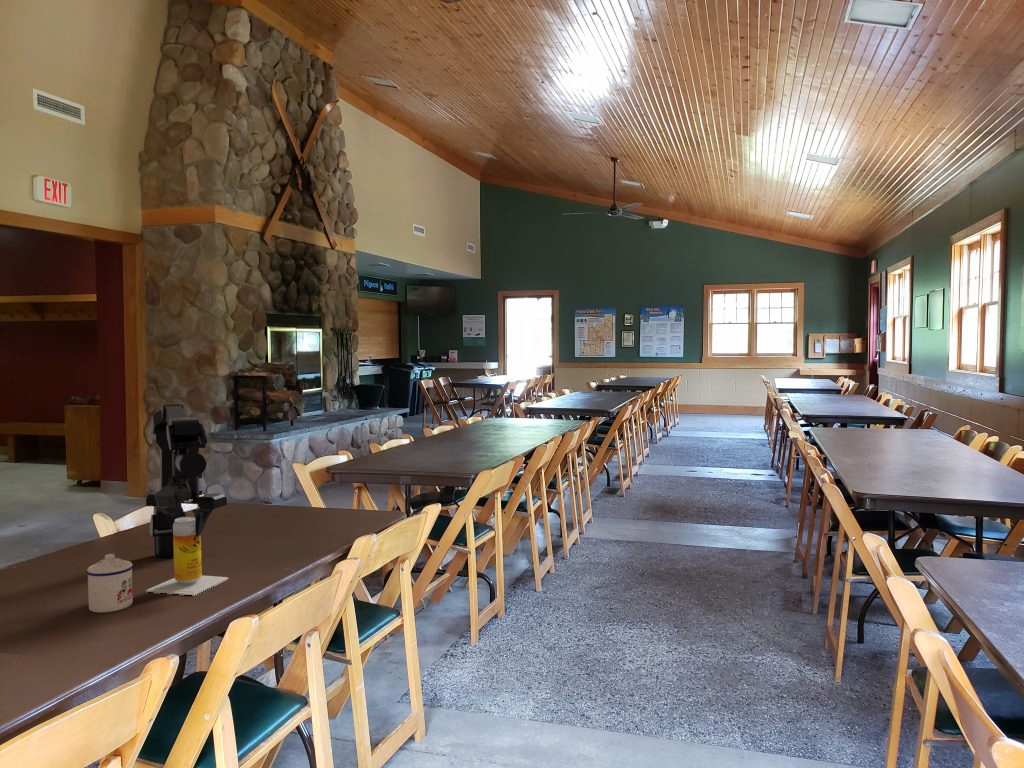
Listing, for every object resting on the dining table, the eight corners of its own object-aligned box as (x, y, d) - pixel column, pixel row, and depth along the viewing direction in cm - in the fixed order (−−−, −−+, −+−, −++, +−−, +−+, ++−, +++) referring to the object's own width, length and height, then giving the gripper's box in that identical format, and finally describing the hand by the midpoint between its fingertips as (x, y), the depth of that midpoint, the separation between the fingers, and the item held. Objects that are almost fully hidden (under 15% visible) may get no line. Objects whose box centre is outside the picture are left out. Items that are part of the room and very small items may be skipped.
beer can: (191, 584, 174) (189, 522, 173) (169, 583, 175) (167, 521, 174) (207, 576, 180) (205, 516, 179) (185, 575, 181) (183, 515, 180)
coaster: (146, 592, 172) (146, 589, 172) (182, 575, 185) (182, 573, 185) (194, 596, 169) (194, 593, 169) (228, 579, 182) (228, 576, 182)
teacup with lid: (125, 612, 159) (124, 559, 159) (80, 614, 158) (79, 561, 157) (143, 594, 171) (142, 545, 171) (101, 596, 169) (100, 547, 169)
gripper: (127, 475, 170) (129, 541, 171) (198, 478, 166) (199, 546, 167) (161, 467, 181) (162, 530, 182) (227, 470, 177) (228, 534, 178)
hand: (187, 535), depth 177 cm, fingers closed on beer can, 6 cm apart
